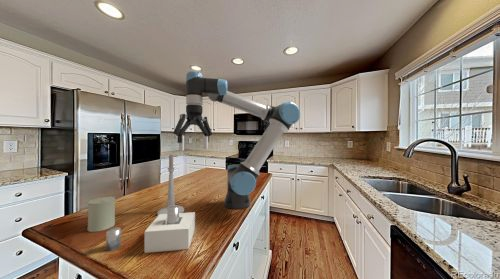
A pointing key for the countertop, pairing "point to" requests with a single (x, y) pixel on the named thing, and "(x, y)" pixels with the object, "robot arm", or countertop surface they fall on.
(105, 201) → the can
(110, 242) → the short pin
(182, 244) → the hole block
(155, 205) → the countertop surface
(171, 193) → the candlestick
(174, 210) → the long pin
